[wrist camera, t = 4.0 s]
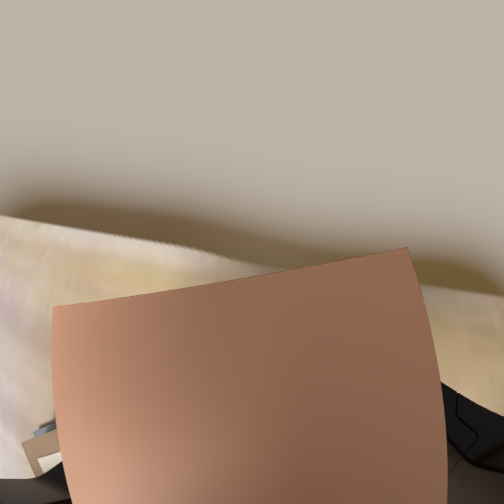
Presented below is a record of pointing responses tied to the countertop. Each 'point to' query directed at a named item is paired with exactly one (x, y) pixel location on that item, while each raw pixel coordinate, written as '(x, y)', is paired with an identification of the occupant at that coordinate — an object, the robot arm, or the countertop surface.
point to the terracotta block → (255, 391)
